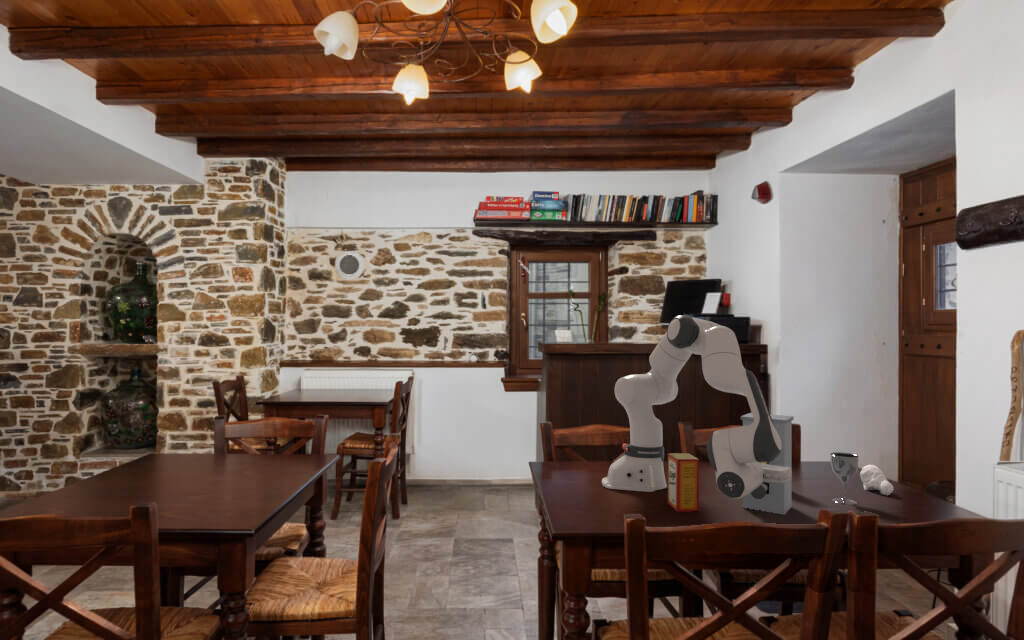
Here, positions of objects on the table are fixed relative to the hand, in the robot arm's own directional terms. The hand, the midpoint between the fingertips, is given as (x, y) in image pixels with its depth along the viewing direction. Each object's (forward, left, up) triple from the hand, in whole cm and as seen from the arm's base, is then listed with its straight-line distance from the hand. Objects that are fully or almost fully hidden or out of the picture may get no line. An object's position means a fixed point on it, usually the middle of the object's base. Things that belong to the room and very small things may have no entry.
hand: (759, 465), depth 184 cm
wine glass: (+32, +18, -15) cm, 39 cm away
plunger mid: (+2, +4, -2) cm, 5 cm away
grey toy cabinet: (+5, +8, -14) cm, 17 cm away
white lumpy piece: (+49, +32, -15) cm, 60 cm away
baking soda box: (-21, +5, -15) cm, 26 cm away
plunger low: (+1, +2, -10) cm, 10 cm away
